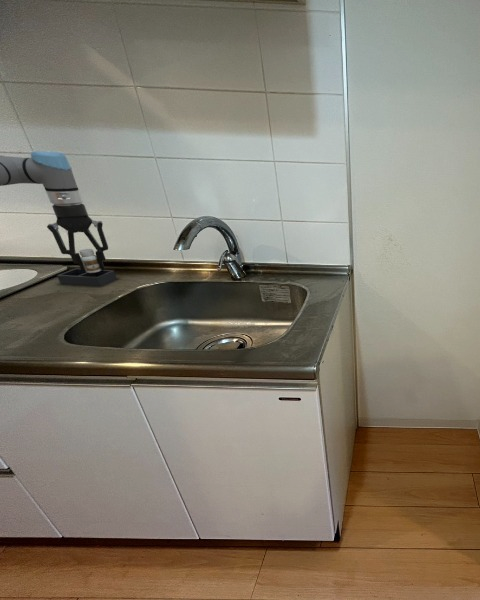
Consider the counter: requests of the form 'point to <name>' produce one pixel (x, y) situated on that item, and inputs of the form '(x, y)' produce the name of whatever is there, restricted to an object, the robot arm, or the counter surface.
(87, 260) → the pill bottle
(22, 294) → the counter surface
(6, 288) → the counter surface
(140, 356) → the counter surface
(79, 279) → the grey divided tray
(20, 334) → the counter surface
